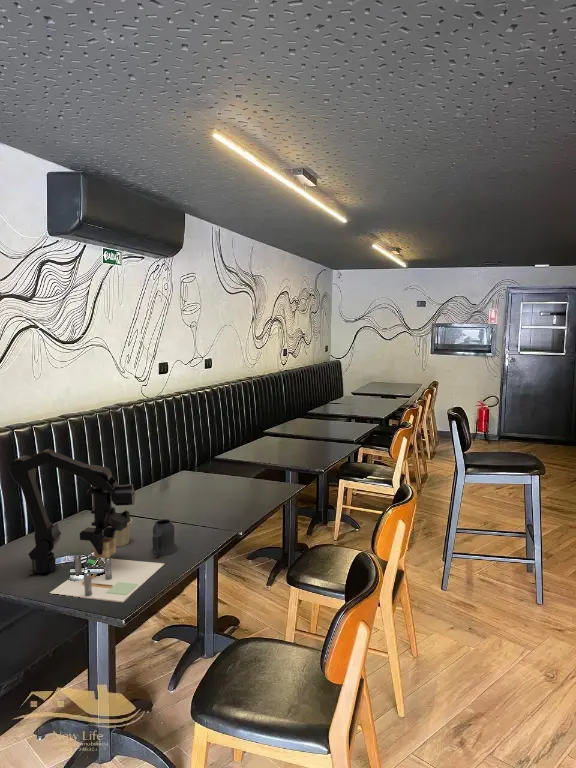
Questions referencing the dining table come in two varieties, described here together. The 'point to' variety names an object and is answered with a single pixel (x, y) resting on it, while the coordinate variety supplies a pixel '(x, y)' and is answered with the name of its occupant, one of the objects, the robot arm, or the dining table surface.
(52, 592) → the course mat
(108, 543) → the oak open box
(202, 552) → the dining table surface
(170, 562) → the dining table surface
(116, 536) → the flower pot
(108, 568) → the wire and posts
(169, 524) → the dark grey holder
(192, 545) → the dining table surface
